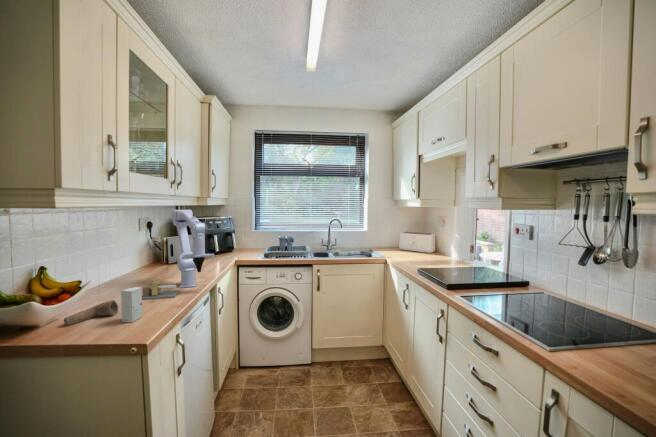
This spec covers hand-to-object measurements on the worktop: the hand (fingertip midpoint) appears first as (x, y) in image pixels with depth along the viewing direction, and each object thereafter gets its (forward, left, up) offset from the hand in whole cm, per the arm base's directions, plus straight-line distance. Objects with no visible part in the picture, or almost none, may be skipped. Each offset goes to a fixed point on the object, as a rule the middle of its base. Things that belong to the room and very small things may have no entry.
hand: (199, 271), depth 151 cm
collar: (+3, -19, -9) cm, 22 cm away
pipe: (+30, -34, -11) cm, 47 cm away
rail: (+3, -18, -10) cm, 21 cm away
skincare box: (+34, -19, -11) cm, 40 cm away
